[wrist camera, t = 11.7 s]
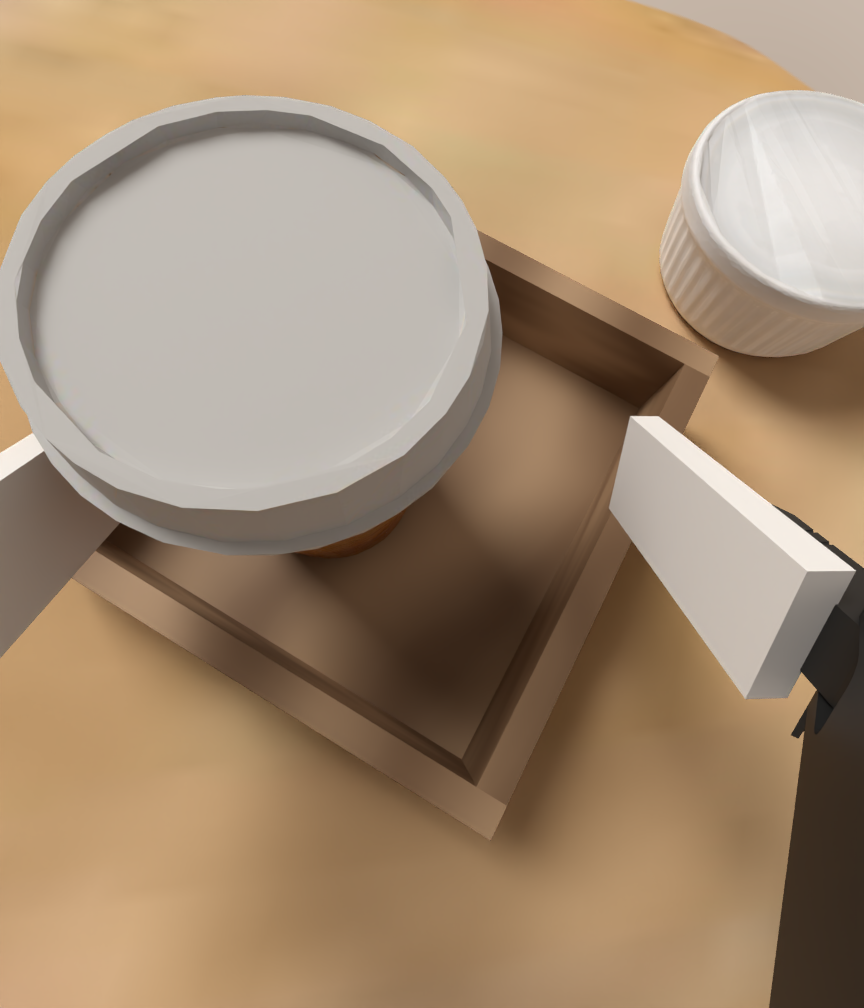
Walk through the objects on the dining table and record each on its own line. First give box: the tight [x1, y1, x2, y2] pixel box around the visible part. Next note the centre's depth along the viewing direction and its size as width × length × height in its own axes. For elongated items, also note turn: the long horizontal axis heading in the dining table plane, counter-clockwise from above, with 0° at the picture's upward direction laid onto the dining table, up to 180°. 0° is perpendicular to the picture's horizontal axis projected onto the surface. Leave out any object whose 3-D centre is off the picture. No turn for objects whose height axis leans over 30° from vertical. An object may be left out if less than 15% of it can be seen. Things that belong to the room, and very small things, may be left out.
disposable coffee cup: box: [0, 95, 503, 559], centre depth 15 cm, size 10×10×12 cm
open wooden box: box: [72, 230, 719, 841], centre depth 20 cm, size 18×18×4 cm
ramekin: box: [659, 90, 864, 357], centre depth 23 cm, size 11×11×5 cm
